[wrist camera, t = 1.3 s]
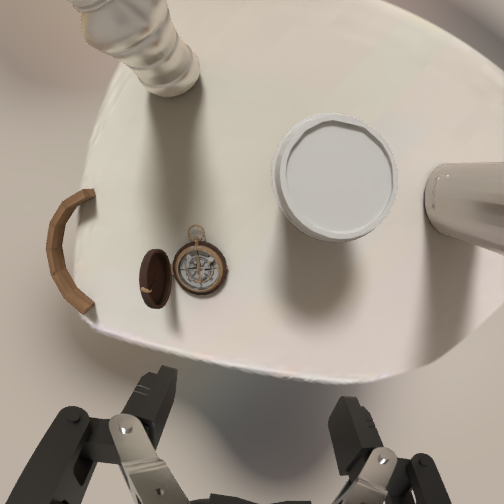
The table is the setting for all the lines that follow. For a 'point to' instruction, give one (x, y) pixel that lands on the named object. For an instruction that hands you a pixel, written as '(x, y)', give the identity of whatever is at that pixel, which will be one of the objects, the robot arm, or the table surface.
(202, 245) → the compass
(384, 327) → the table surface
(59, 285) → the brown segmented arc
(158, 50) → the plastic bottle
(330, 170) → the disposable coffee cup
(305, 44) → the table surface
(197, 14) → the table surface
